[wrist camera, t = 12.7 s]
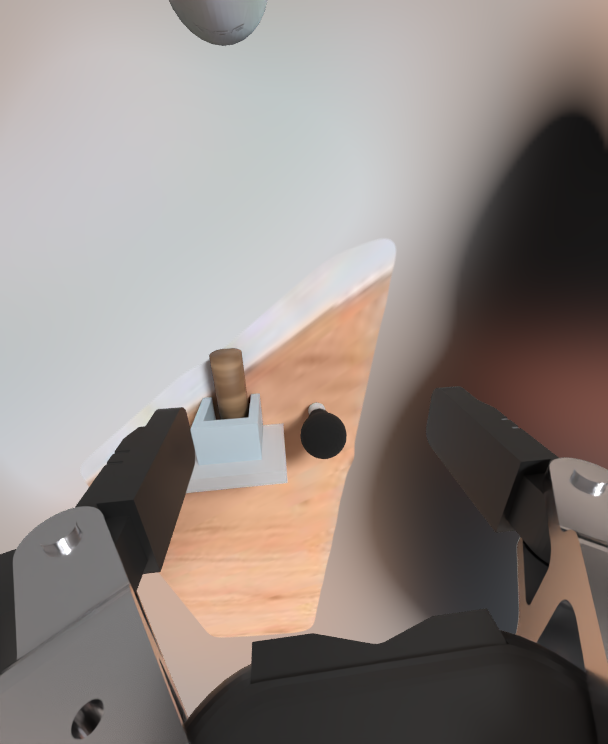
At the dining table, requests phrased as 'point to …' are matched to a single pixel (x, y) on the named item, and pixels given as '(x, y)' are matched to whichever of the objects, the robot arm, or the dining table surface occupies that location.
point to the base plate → (245, 467)
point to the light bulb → (322, 433)
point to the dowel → (229, 383)
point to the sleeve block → (227, 435)
